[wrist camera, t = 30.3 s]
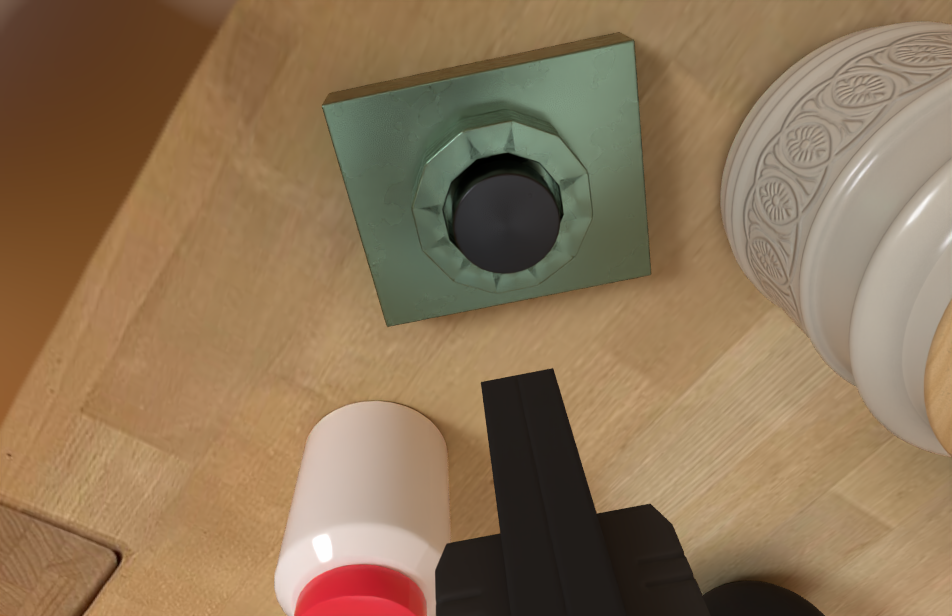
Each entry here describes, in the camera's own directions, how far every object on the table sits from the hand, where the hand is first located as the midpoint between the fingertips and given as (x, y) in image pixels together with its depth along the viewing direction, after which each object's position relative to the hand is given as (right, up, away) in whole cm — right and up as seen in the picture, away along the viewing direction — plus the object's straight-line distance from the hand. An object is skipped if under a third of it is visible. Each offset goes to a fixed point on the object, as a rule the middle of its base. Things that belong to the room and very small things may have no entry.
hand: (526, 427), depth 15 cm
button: (0, +6, +13) cm, 14 cm away
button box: (0, +8, +16) cm, 18 cm away
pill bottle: (-6, -5, +23) cm, 24 cm away
